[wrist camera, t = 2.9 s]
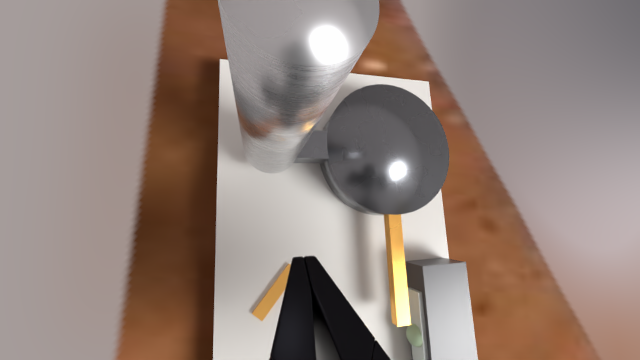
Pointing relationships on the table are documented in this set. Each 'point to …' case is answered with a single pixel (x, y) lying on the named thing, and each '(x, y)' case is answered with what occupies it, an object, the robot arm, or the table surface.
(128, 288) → the table surface
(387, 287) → the stand
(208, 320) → the table surface
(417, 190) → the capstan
